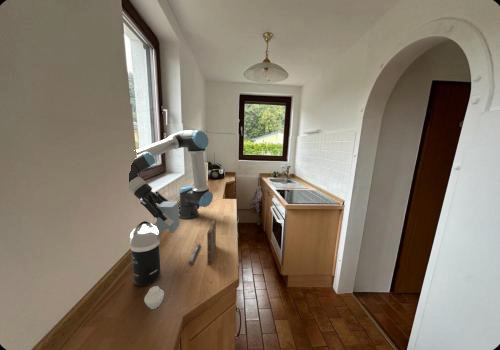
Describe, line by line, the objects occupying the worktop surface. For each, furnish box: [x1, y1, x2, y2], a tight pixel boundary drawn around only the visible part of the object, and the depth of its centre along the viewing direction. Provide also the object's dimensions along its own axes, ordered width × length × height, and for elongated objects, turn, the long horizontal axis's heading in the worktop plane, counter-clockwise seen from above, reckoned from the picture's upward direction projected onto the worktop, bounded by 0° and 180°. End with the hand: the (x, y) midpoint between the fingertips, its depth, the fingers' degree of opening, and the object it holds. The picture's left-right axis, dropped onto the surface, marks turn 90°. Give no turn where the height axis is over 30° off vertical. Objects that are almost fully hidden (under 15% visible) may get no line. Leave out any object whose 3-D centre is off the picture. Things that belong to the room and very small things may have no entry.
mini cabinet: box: [156, 200, 180, 234], centre depth 91 cm, size 8×8×13 cm
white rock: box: [143, 285, 165, 310], centre depth 63 cm, size 6×6×7 cm
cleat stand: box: [188, 218, 217, 266], centre depth 92 cm, size 16×10×16 cm, turn 2°
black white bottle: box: [129, 220, 162, 287], centre depth 74 cm, size 10×10×25 cm
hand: (175, 220), depth 91 cm, fingers closed on mini cabinet, 8 cm apart
